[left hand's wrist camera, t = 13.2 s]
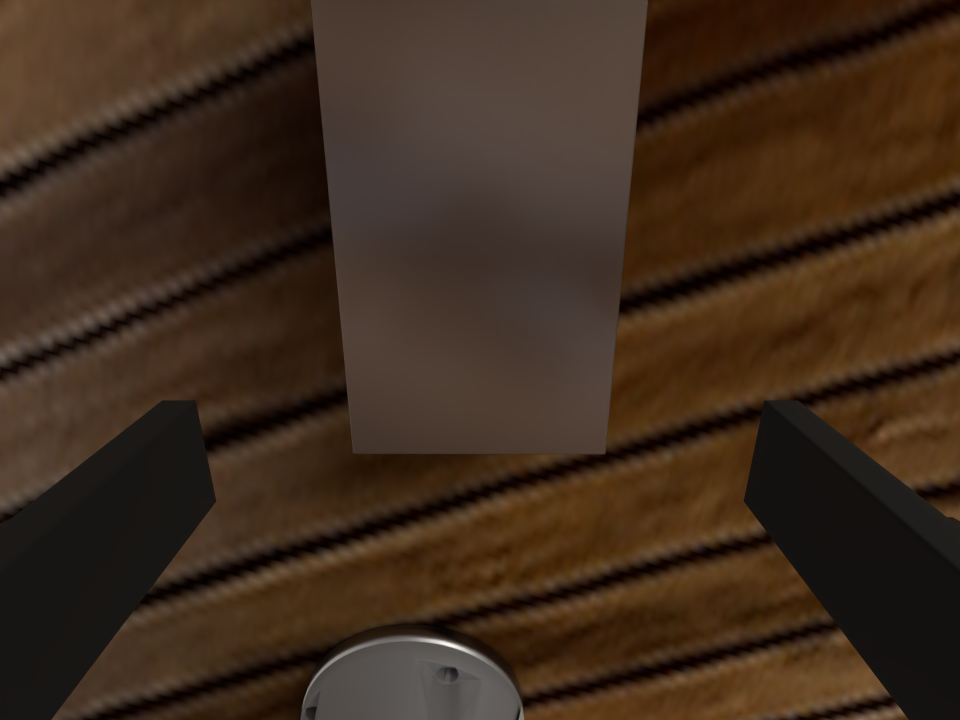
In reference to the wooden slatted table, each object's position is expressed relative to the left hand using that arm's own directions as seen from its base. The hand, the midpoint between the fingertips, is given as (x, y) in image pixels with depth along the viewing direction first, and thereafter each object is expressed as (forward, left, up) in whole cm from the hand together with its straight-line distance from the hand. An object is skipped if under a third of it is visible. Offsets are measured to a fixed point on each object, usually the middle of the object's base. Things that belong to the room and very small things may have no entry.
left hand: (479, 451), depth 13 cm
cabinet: (+2, +4, -16) cm, 17 cm away
